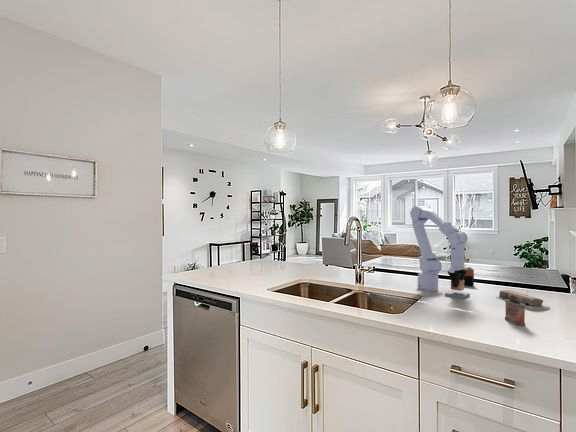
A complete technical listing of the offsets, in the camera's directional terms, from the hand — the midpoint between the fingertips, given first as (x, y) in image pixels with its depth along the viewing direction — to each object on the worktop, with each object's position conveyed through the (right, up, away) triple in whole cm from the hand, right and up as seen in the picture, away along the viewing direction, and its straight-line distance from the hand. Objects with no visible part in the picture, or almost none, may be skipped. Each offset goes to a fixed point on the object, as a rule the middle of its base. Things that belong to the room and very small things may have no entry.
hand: (457, 286), depth 157 cm
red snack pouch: (+3, -6, -35) cm, 35 cm away
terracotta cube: (0, -2, 0) cm, 2 cm away
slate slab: (0, -5, 0) cm, 5 cm away
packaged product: (+23, -6, -11) cm, 26 cm away
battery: (+18, -5, +26) cm, 32 cm away
